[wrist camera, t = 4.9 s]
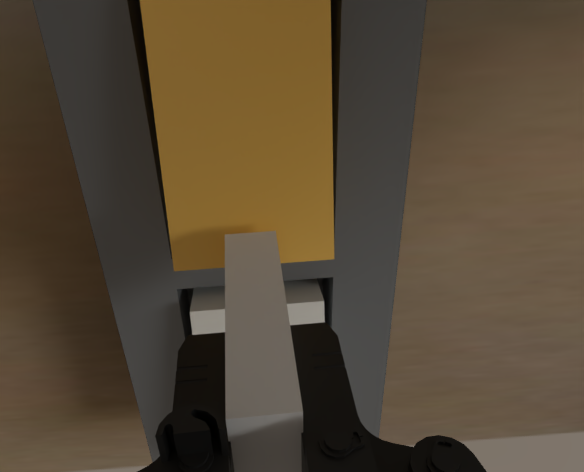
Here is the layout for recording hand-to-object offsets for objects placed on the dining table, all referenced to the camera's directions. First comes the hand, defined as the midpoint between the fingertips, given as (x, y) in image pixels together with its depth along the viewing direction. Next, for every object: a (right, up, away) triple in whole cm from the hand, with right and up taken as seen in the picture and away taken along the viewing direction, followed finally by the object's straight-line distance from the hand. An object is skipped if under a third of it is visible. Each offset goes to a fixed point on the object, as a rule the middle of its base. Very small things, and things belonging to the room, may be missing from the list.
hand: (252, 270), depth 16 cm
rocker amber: (0, +5, +1) cm, 5 cm away
